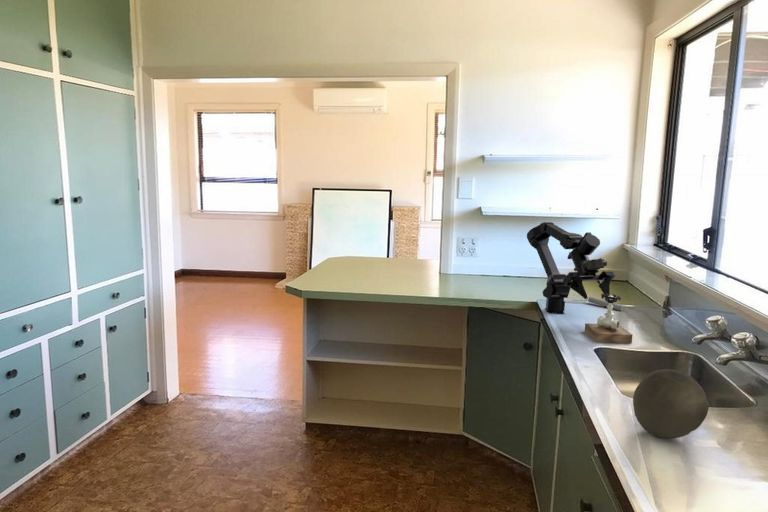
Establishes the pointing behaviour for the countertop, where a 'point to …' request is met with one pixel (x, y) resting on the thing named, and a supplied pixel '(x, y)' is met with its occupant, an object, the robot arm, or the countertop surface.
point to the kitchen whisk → (601, 302)
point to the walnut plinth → (608, 334)
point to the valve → (609, 313)
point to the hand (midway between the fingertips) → (597, 298)
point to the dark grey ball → (669, 404)
